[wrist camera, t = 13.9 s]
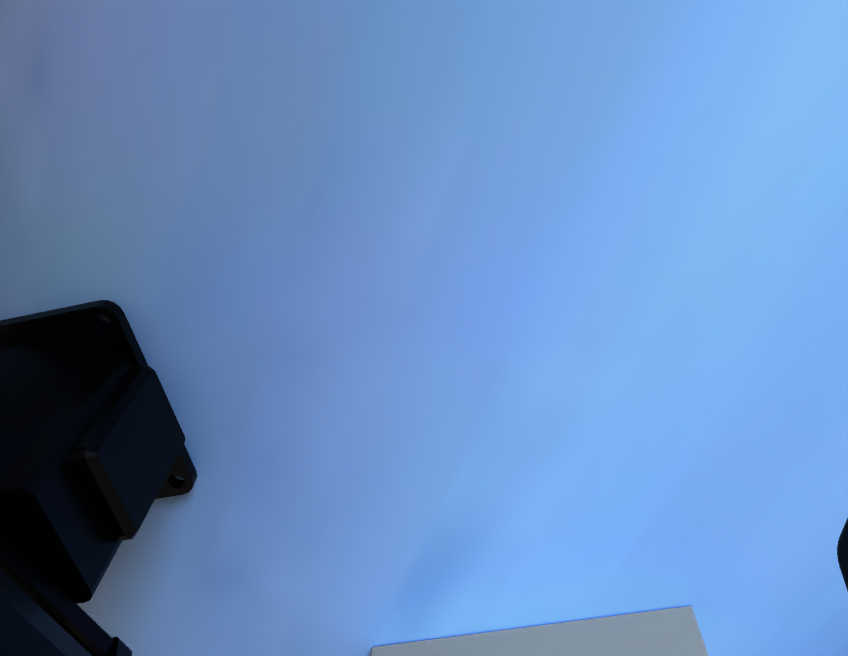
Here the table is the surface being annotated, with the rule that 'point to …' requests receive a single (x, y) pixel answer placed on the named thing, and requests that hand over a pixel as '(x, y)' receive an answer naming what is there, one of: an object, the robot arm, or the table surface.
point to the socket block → (574, 638)
